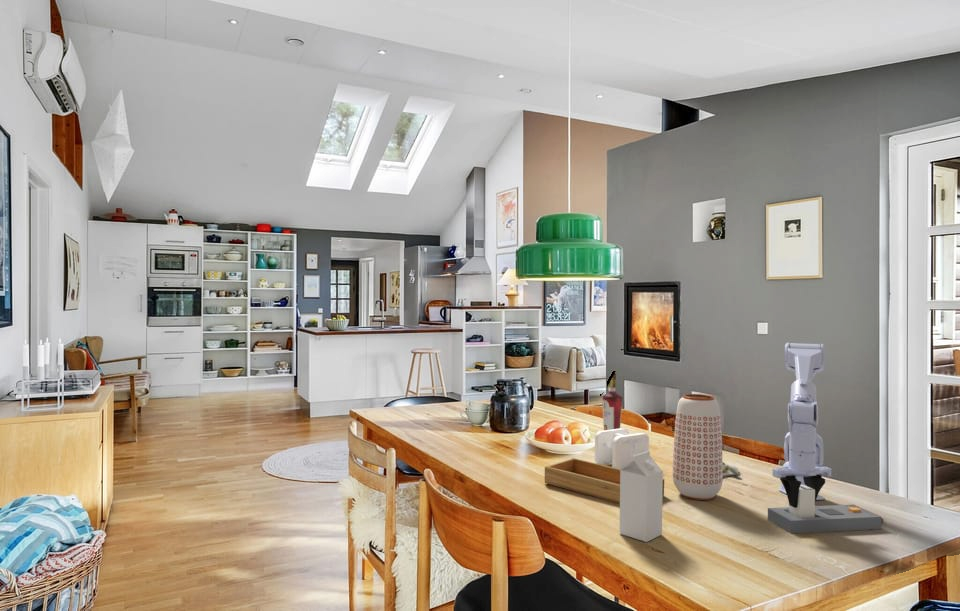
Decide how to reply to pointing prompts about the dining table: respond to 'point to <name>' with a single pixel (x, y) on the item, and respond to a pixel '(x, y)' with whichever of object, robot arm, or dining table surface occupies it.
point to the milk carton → (641, 498)
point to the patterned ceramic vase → (698, 447)
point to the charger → (804, 503)
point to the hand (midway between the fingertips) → (801, 505)
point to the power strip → (826, 519)
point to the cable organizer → (619, 447)
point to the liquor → (612, 407)
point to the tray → (586, 478)
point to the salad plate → (729, 470)
